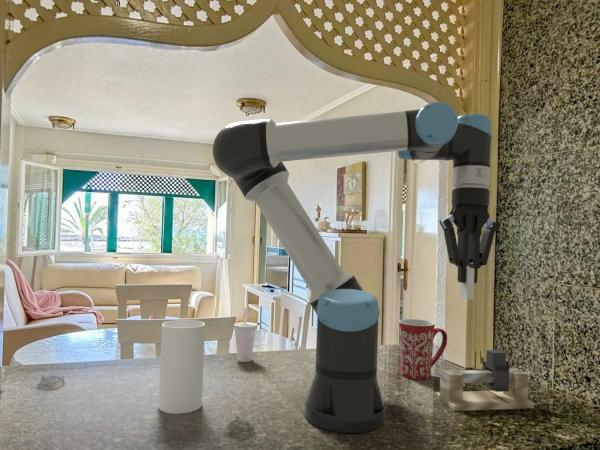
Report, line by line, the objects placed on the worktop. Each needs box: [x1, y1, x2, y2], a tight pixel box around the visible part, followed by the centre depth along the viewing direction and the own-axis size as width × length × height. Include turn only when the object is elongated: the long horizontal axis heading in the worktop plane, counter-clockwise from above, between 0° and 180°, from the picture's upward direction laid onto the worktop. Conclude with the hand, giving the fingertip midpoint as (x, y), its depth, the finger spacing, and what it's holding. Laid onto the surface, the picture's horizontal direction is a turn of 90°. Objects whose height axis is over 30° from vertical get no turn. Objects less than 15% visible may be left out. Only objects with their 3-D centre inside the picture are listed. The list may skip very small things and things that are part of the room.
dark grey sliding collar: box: [481, 349, 510, 392], centre depth 96 cm, size 3×5×8 cm, turn 10°
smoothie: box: [233, 307, 258, 363], centre depth 122 cm, size 6×6×14 cm
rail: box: [434, 367, 535, 412], centre depth 96 cm, size 18×8×7 cm, turn 100°
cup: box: [158, 319, 206, 415], centre depth 88 cm, size 8×8×16 cm
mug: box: [398, 318, 448, 381], centre depth 114 cm, size 13×9×14 cm
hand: (466, 298), depth 96 cm, fingers closed
